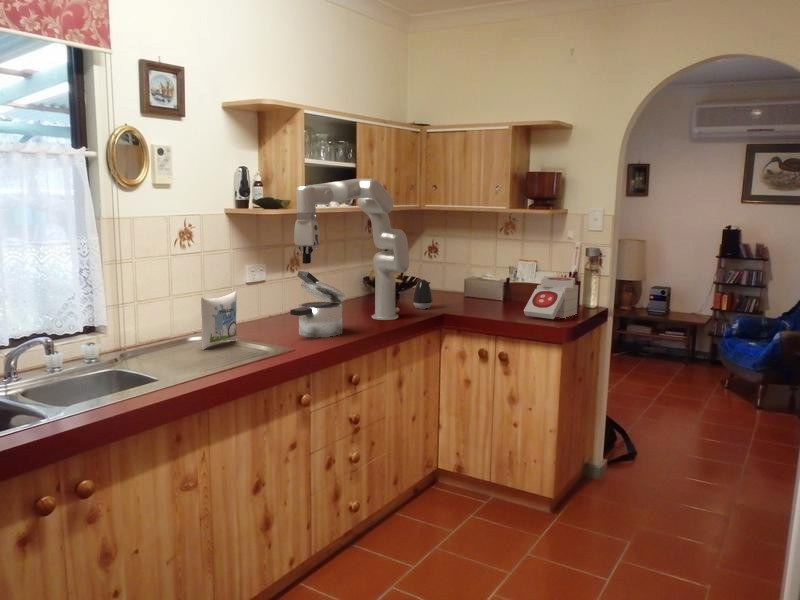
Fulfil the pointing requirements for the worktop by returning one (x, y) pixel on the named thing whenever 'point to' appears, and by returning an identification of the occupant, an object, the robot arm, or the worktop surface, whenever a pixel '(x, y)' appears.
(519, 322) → the worktop surface
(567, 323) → the worktop surface
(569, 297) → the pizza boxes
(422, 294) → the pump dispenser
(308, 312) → the cooker pot
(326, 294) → the cooker lid
